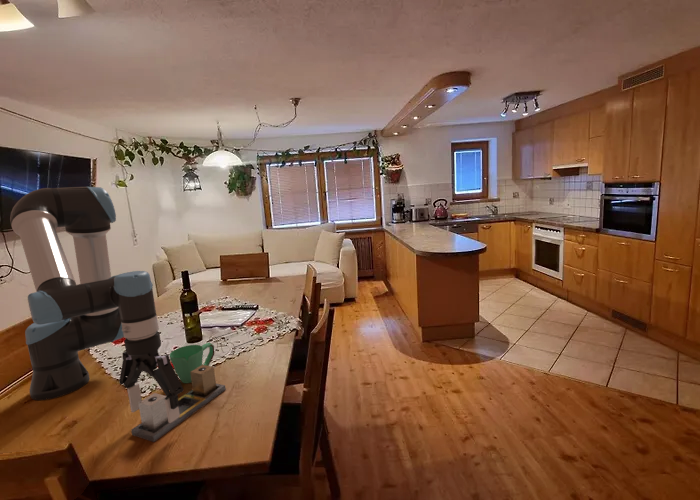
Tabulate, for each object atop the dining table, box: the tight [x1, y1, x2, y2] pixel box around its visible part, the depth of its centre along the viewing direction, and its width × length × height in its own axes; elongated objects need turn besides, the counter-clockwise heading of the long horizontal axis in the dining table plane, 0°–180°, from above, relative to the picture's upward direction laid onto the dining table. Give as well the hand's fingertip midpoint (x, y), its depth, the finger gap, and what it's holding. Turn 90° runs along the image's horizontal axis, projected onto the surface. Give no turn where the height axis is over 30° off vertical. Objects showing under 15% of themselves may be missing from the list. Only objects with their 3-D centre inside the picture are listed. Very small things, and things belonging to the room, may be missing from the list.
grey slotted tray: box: [130, 383, 227, 443], centre depth 97 cm, size 8×24×2 cm, turn 156°
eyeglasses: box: [208, 330, 264, 355], centre depth 141 cm, size 16×15×5 cm
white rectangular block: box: [138, 392, 169, 433], centre depth 90 cm, size 4×4×8 cm
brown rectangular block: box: [190, 364, 217, 397], centre depth 104 cm, size 4×4×8 cm
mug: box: [169, 342, 215, 384], centre depth 116 cm, size 15×10×10 cm
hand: (155, 414), depth 90 cm, fingers open, 13 cm apart
